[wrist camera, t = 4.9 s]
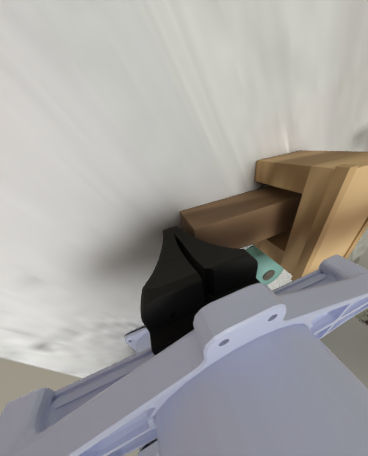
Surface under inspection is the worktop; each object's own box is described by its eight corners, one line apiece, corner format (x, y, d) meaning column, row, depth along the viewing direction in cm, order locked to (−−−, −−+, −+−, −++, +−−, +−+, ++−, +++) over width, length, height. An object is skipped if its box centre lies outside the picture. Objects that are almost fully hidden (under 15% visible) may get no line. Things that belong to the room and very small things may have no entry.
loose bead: (264, 261, 21) (282, 278, 18) (237, 274, 21) (252, 293, 18) (266, 240, 18) (287, 256, 16) (236, 253, 18) (253, 272, 16)
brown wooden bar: (299, 203, 17) (332, 214, 15) (185, 241, 14) (198, 263, 12) (308, 174, 16) (347, 180, 13) (179, 211, 13) (194, 229, 10)
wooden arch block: (281, 228, 19) (344, 262, 13) (245, 242, 18) (297, 284, 12) (303, 147, 14) (418, 147, 8) (254, 158, 13) (350, 167, 7)
